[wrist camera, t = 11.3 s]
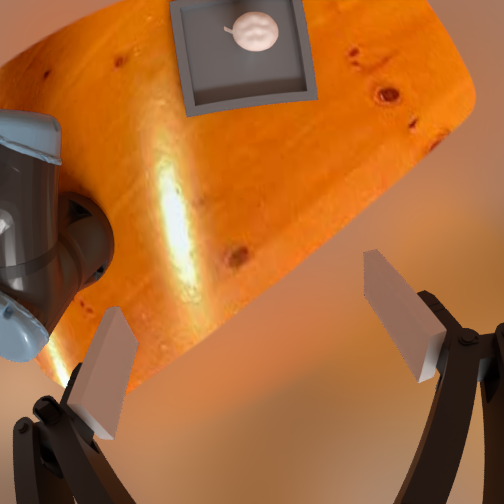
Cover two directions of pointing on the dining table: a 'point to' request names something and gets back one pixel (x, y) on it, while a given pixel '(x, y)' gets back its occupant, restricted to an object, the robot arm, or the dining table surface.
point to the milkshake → (254, 33)
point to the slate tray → (240, 56)
